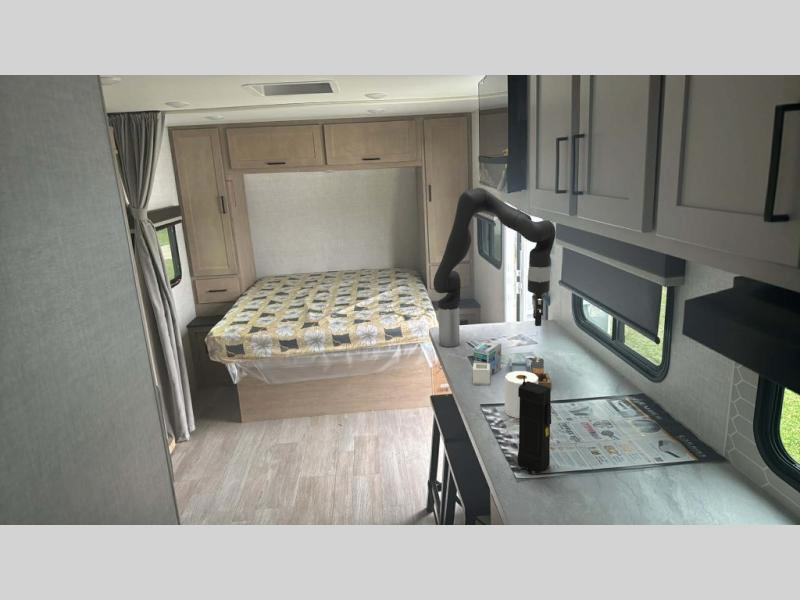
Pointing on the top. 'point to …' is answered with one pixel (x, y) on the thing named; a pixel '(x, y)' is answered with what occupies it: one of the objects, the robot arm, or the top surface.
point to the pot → (481, 374)
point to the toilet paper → (515, 390)
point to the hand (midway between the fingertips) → (537, 322)
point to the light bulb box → (489, 355)
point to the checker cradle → (519, 366)
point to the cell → (538, 368)
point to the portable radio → (534, 426)
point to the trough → (545, 380)
